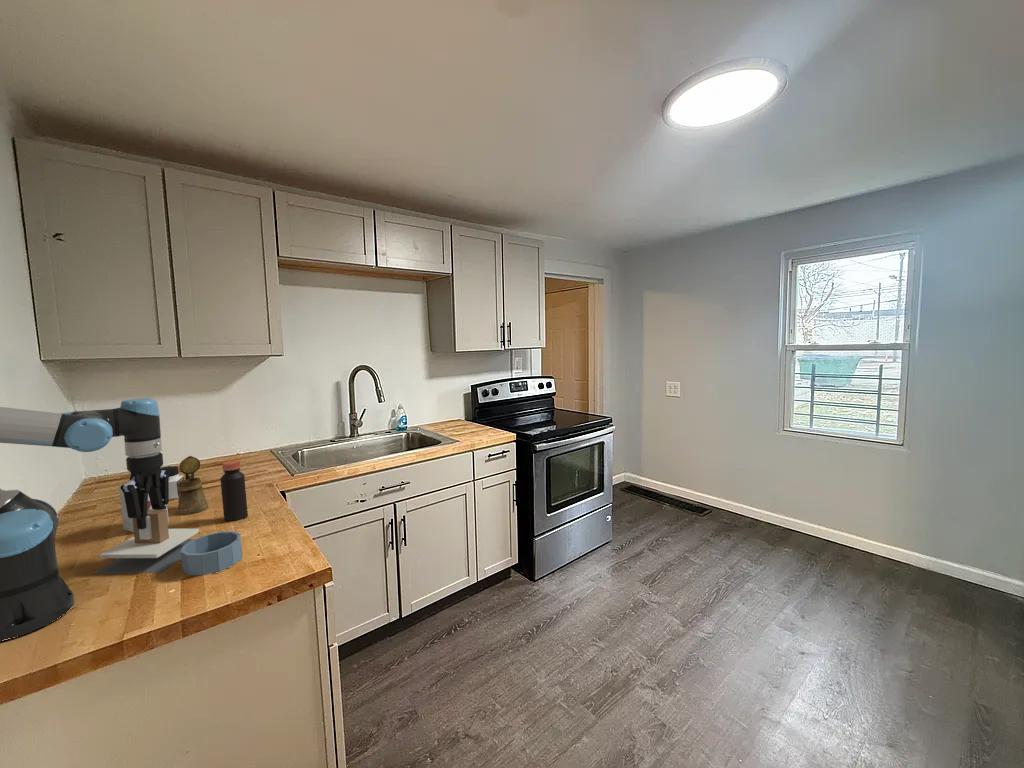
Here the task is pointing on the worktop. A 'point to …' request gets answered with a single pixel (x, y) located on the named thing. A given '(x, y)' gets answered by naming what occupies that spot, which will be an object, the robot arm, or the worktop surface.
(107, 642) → the worktop surface
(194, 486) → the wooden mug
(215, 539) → the bowl
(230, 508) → the vinegar
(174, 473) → the medicine bottle
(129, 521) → the supplement box
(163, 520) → the lid
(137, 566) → the mat
